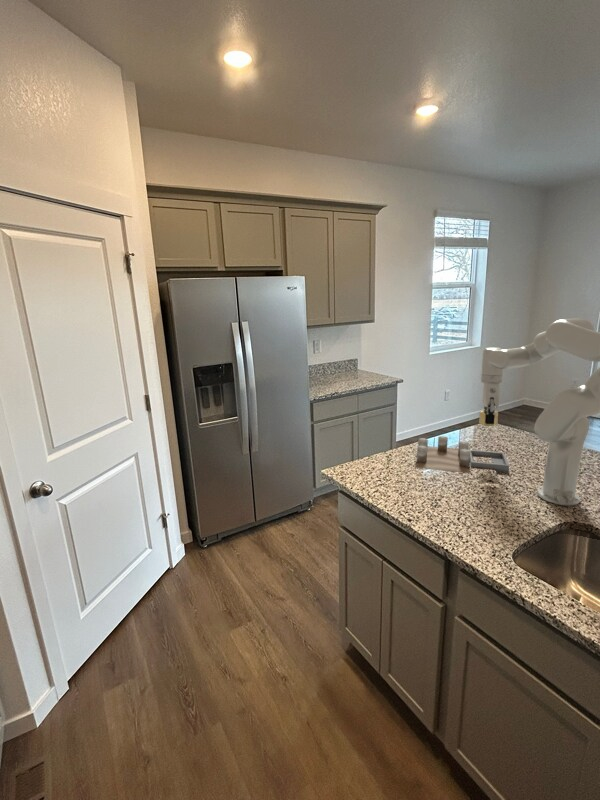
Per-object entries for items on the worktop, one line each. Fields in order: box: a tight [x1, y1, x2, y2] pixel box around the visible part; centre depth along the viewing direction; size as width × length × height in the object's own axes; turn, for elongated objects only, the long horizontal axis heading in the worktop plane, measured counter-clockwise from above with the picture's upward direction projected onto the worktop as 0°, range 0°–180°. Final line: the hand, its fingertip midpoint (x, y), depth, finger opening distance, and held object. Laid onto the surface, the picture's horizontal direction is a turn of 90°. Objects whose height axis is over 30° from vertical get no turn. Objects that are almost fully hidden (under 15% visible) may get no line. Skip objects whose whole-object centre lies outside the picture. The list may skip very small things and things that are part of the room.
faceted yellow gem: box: [478, 409, 499, 427], centre depth 160 cm, size 7×6×5 cm
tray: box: [468, 449, 510, 473], centre depth 164 cm, size 14×14×3 cm
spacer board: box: [416, 435, 471, 474], centre depth 169 cm, size 26×21×7 cm
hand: (488, 421), depth 160 cm, fingers closed on faceted yellow gem, 6 cm apart
